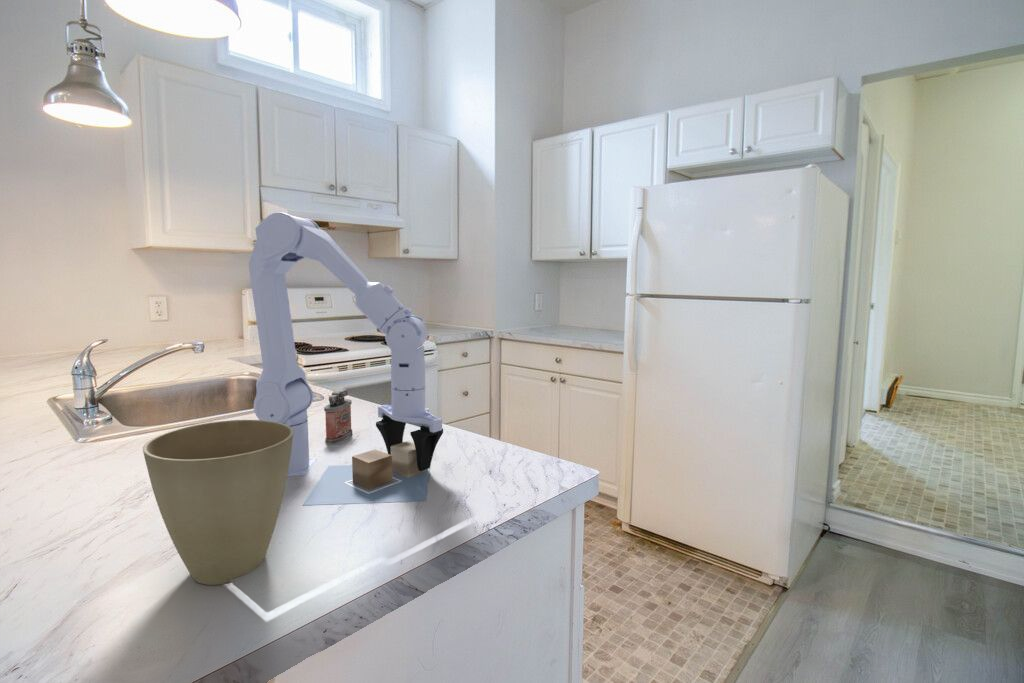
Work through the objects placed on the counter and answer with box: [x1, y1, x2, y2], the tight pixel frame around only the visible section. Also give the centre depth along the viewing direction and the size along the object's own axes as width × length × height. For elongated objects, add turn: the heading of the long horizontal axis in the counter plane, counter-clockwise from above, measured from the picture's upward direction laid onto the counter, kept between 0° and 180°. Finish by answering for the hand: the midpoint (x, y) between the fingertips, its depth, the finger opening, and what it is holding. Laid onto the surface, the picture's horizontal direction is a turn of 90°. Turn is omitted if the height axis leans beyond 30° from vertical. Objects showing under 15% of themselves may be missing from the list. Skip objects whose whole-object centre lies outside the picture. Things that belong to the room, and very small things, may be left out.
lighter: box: [323, 388, 353, 445], centre depth 109 cm, size 8×3×10 cm, turn 169°
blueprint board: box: [302, 464, 431, 507], centre depth 85 cm, size 18×16×1 cm
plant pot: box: [142, 419, 293, 586], centre depth 60 cm, size 15×15×16 cm
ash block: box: [390, 439, 428, 478], centre depth 90 cm, size 4×4×4 cm
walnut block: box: [351, 449, 392, 490], centre depth 85 cm, size 4×4×4 cm
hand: (409, 463), depth 90 cm, fingers open, 7 cm apart
